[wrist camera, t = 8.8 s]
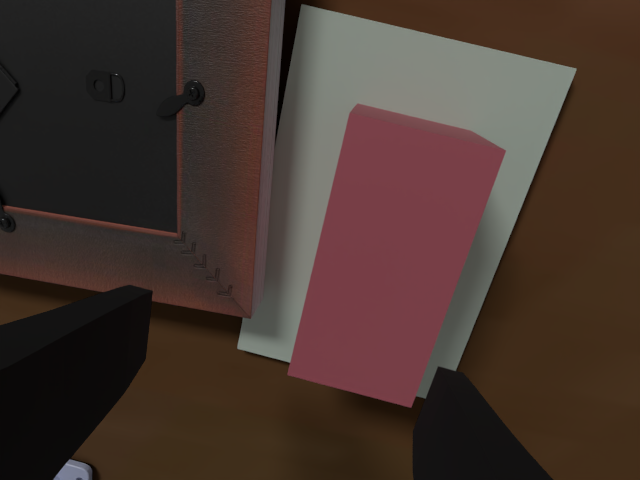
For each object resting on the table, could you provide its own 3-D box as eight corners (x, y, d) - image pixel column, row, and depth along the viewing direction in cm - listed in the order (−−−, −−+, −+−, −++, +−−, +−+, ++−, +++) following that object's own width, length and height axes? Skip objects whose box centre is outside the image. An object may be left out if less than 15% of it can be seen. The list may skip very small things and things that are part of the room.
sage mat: (441, 394, 22) (442, 403, 21) (240, 341, 22) (237, 348, 22) (570, 69, 17) (576, 68, 16) (304, 6, 17) (301, 4, 16)
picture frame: (-153, 222, 23) (265, 294, 20) (-216, 238, 20) (249, 322, 18) (-265, -196, 17) (300, -160, 15) (-370, -239, 15) (282, -205, 12)
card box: (357, 103, 17) (349, 112, 13) (471, 130, 17) (506, 150, 12) (308, 306, 20) (287, 375, 16) (403, 331, 20) (411, 407, 16)
